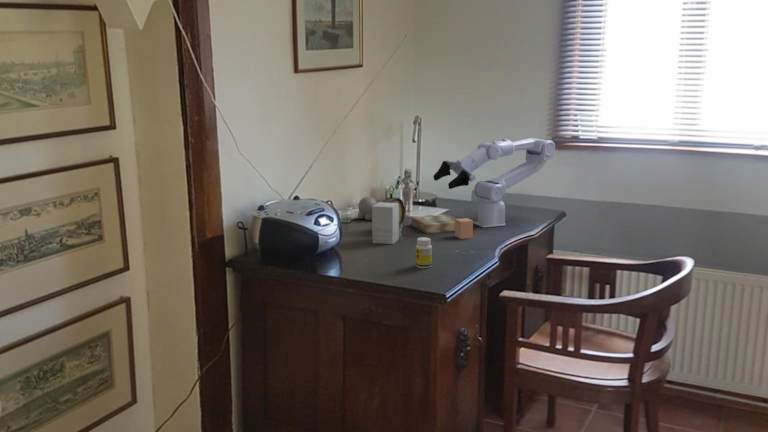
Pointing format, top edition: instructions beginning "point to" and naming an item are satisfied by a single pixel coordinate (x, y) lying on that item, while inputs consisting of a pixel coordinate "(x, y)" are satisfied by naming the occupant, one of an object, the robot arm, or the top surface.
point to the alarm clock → (401, 206)
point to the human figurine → (407, 189)
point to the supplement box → (385, 222)
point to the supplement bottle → (423, 253)
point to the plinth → (434, 223)
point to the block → (464, 228)
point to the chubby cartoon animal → (366, 208)
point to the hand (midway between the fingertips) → (441, 182)
